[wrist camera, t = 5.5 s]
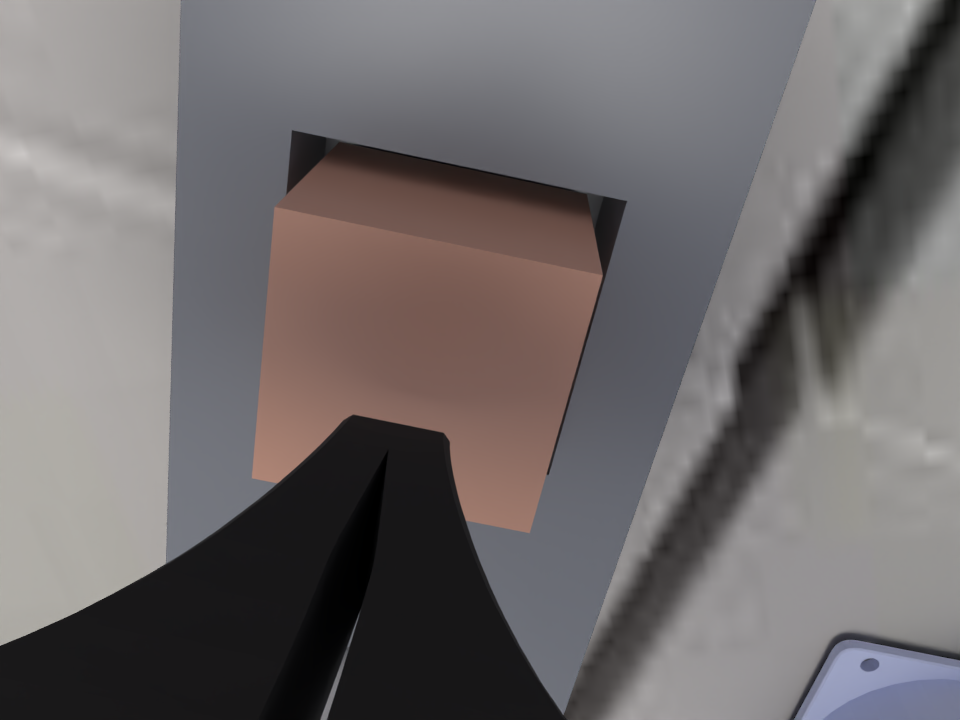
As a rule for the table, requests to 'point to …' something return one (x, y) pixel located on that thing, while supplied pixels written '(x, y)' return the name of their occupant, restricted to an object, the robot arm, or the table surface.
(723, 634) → the table surface
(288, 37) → the key panel
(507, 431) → the terracotta key
